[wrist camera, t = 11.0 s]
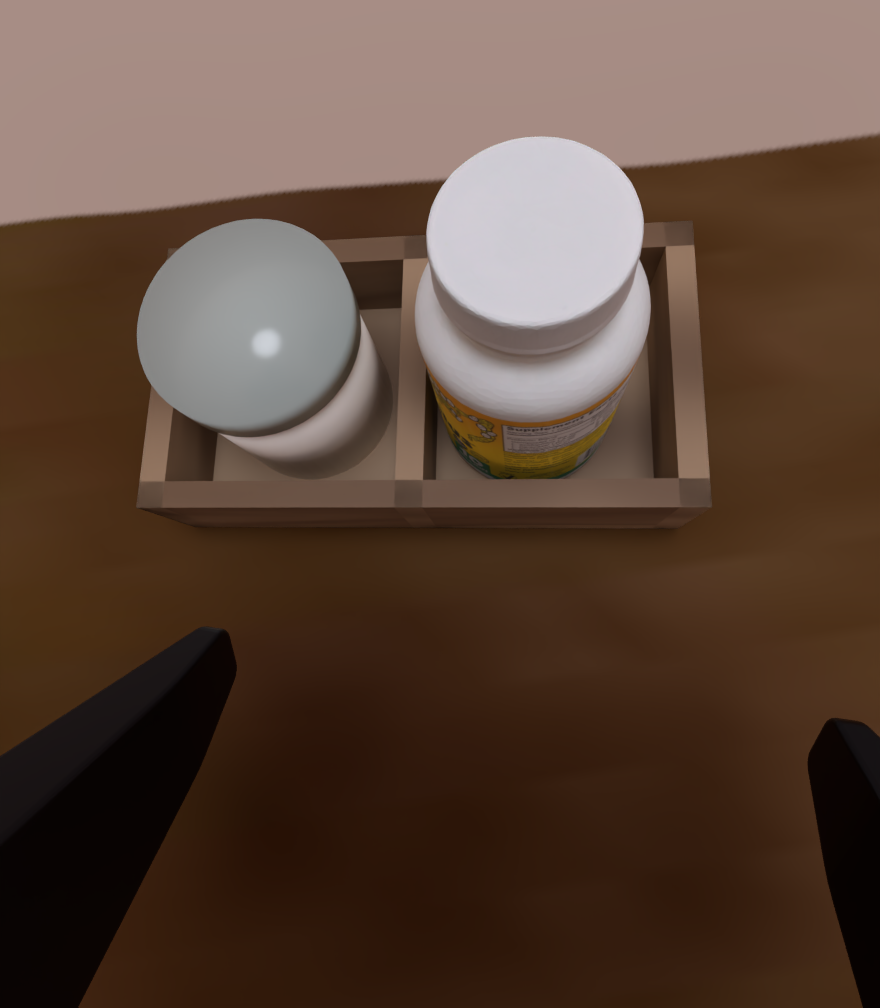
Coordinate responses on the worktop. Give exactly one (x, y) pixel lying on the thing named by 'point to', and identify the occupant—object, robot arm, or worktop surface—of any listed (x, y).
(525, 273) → the supplement bottle
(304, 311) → the jar
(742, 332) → the worktop surface
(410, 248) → the crate
